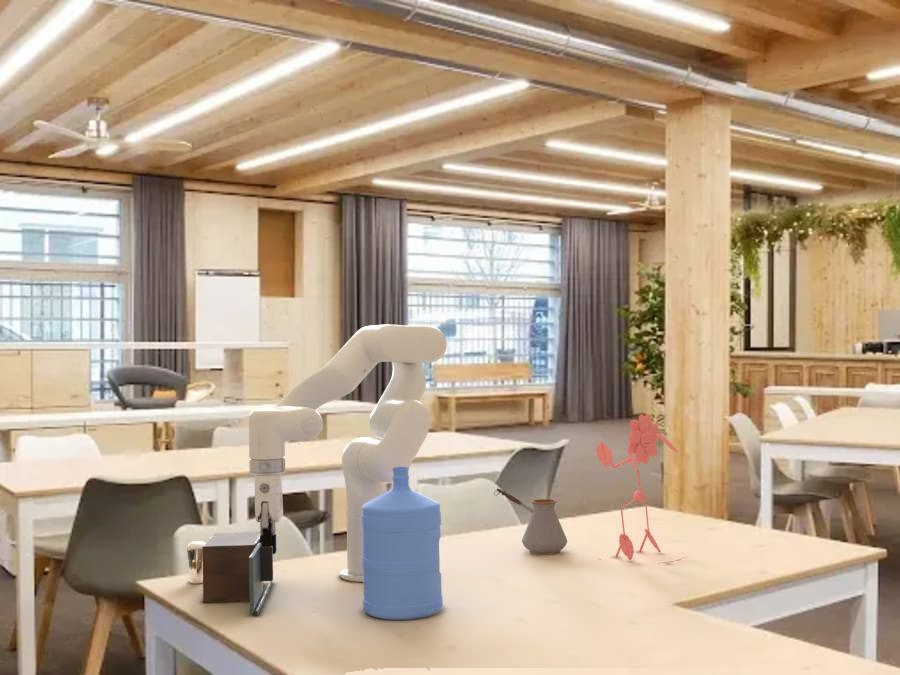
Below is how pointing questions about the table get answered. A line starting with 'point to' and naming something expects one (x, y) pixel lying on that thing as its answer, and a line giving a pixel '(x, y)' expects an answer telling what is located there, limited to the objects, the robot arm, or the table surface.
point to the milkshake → (195, 561)
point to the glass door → (259, 572)
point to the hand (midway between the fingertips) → (268, 553)
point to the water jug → (401, 553)
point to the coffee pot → (541, 527)
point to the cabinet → (229, 568)
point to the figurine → (642, 446)
